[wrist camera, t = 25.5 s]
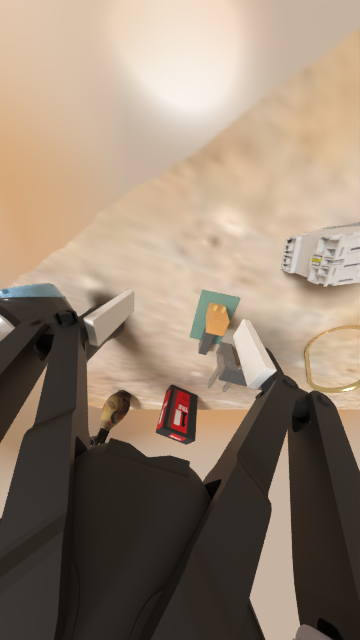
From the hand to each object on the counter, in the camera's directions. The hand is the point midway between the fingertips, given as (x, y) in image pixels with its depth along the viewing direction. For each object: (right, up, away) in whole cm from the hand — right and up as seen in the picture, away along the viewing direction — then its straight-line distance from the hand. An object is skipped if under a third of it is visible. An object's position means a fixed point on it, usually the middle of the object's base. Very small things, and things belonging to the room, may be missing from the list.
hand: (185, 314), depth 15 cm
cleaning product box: (0, -44, +61) cm, 75 cm away
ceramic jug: (-40, -53, +74) cm, 100 cm away
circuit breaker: (+32, +17, +15) cm, 40 cm away
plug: (+10, -3, +31) cm, 33 cm away
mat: (+11, -1, +31) cm, 32 cm away
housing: (+21, -23, +43) cm, 53 cm away
